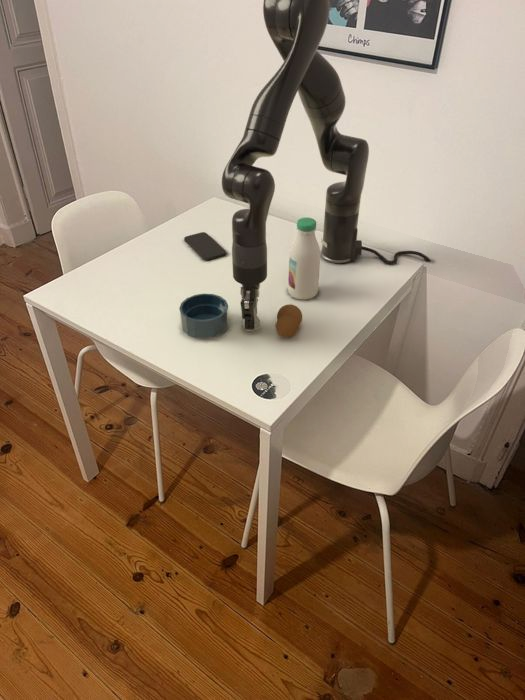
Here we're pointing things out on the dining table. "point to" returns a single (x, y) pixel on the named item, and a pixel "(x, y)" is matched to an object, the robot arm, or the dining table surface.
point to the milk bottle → (304, 261)
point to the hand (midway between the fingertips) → (251, 322)
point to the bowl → (204, 315)
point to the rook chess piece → (256, 319)
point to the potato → (288, 320)
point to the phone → (205, 246)
